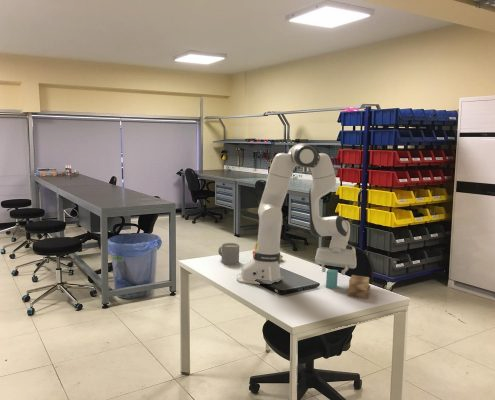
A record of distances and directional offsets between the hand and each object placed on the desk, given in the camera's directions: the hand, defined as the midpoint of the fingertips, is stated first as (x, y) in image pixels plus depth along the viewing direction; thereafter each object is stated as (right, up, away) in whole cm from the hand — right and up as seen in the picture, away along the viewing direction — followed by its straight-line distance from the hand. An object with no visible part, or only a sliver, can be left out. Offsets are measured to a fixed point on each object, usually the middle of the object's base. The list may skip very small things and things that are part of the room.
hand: (333, 272), depth 222 cm
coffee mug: (-53, 0, +39) cm, 65 cm away
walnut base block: (+10, -9, -11) cm, 17 cm away
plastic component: (-30, +1, +49) cm, 58 cm away
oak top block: (+10, -5, -11) cm, 16 cm away
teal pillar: (-1, -7, -1) cm, 7 cm away
